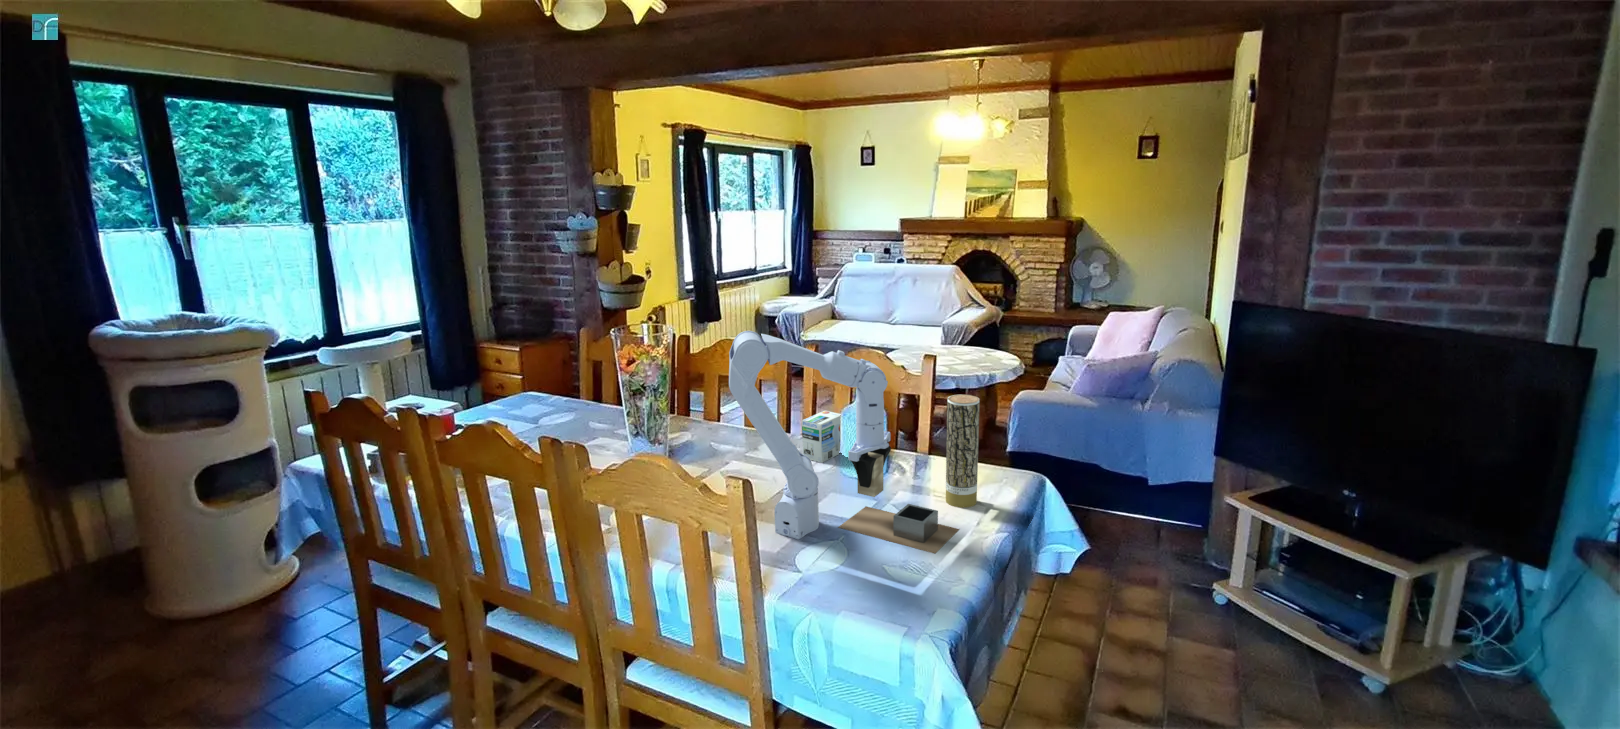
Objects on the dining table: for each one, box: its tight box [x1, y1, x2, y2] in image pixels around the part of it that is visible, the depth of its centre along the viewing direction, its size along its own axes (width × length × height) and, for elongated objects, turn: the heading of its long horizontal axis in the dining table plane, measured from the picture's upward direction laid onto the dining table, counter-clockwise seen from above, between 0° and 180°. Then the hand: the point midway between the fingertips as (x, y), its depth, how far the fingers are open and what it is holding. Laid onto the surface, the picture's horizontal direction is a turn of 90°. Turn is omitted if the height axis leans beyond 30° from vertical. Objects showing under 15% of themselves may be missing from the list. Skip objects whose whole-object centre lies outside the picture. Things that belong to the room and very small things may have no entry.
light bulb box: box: [801, 410, 842, 464], centre depth 199 cm, size 11×7×11 cm, turn 143°
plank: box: [837, 505, 960, 554], centre depth 154 cm, size 12×22×1 cm, turn 56°
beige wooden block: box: [856, 452, 884, 498], centre depth 156 cm, size 4×4×8 cm
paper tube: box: [945, 394, 981, 509], centre depth 163 cm, size 7×7×25 cm
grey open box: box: [893, 503, 939, 543], centre depth 151 cm, size 7×7×4 cm
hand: (870, 482), depth 157 cm, fingers closed on beige wooden block, 4 cm apart
